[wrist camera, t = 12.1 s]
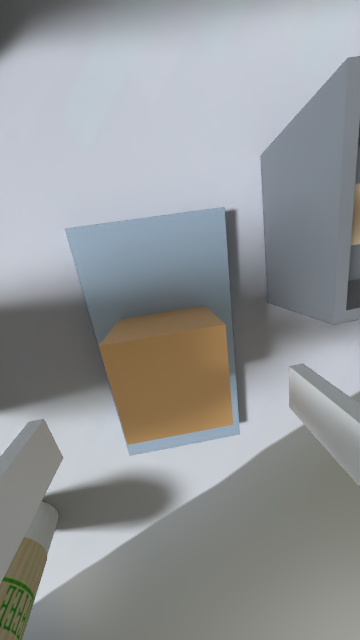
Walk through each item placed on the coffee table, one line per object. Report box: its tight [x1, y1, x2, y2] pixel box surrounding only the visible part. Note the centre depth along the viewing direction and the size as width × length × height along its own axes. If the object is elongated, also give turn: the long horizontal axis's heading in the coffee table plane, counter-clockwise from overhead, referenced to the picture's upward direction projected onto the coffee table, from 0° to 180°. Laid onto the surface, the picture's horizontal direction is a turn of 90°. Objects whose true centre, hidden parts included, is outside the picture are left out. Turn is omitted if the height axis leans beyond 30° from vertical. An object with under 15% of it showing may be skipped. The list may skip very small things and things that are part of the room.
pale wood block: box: [351, 184, 360, 245], centre depth 16 cm, size 4×4×4 cm
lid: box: [65, 207, 240, 456], centre depth 17 cm, size 13×24×8 cm, turn 8°
